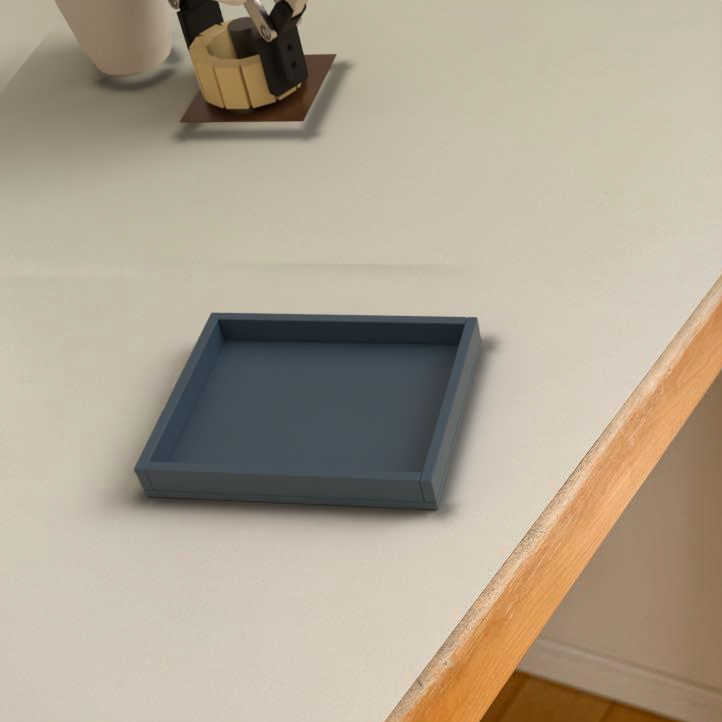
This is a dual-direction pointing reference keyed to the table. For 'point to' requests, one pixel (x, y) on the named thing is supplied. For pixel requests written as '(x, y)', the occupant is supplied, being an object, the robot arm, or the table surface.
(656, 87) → the table surface
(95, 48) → the cup
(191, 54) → the bracelet
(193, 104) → the peg stand
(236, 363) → the tray
